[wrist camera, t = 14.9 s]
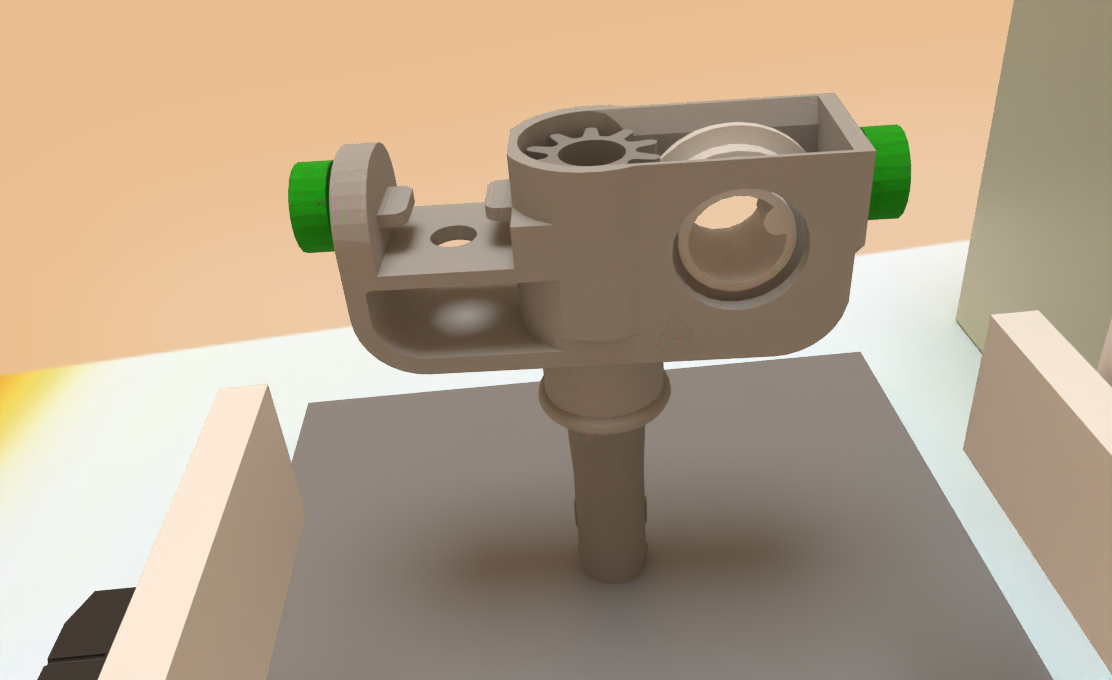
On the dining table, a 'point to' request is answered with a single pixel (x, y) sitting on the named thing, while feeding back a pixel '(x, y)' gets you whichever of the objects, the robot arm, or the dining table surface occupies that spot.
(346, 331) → the dining table surface
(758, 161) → the mechanical component
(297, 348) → the dining table surface
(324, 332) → the dining table surface
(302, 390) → the dining table surface
